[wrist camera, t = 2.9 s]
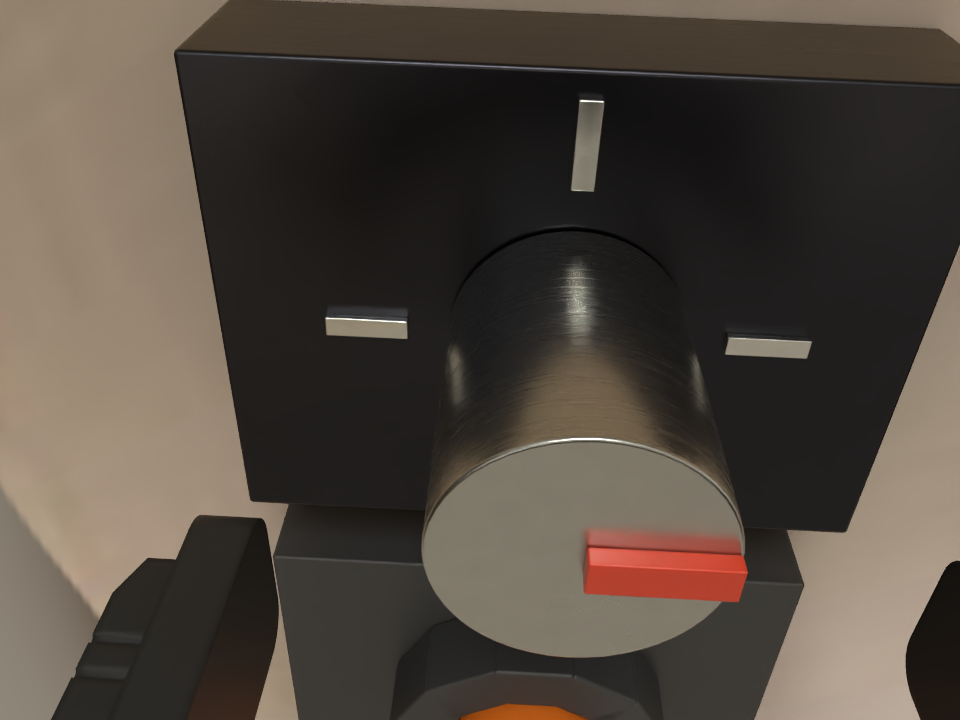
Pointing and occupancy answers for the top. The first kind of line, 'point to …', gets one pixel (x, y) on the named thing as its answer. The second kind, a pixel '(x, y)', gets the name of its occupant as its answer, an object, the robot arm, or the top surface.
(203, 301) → the top surface
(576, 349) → the dial
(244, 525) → the robot arm
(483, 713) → the button
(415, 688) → the button block
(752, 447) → the dial panel
